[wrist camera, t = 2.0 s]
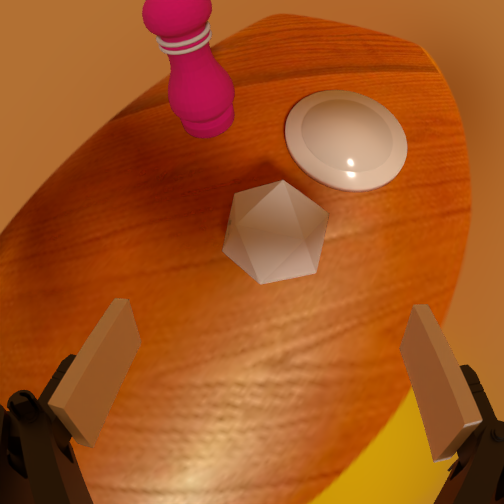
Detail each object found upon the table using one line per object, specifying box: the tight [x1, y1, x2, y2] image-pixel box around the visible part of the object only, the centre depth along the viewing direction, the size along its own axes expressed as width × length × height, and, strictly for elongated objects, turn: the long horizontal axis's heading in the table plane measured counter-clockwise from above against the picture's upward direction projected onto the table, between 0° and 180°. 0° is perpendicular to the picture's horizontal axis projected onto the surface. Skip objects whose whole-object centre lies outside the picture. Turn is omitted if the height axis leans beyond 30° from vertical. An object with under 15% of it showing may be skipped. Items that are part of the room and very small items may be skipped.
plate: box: [285, 90, 407, 192], centre depth 33 cm, size 14×14×1 cm
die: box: [222, 180, 329, 284], centre depth 27 cm, size 8×9×10 cm
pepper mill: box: [142, 0, 234, 138], centre depth 27 cm, size 7×7×20 cm
